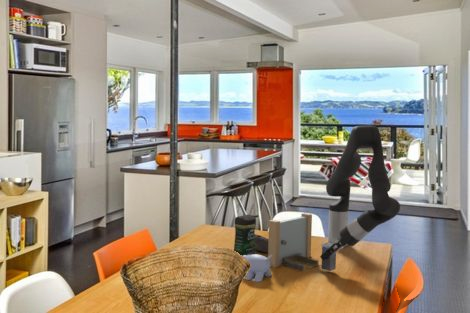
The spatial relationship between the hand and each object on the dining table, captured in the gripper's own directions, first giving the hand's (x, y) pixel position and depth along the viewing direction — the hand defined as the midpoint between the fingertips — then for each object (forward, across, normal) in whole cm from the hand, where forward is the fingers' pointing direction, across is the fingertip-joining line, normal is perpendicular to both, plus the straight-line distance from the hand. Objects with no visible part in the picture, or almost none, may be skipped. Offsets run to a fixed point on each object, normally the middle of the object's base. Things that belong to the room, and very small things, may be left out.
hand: (324, 256), depth 186 cm
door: (+17, -5, -8) cm, 19 cm away
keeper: (+12, -2, -3) cm, 12 cm away
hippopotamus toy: (+19, +21, -10) cm, 30 cm away
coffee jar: (+30, +1, -22) cm, 37 cm away
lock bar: (+2, 0, +5) cm, 5 cm away
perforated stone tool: (+28, -10, -19) cm, 36 cm away
